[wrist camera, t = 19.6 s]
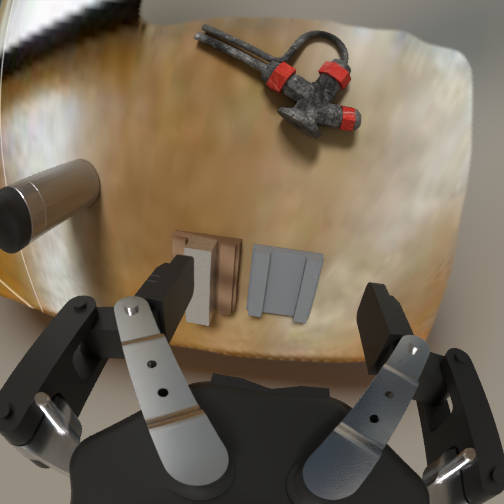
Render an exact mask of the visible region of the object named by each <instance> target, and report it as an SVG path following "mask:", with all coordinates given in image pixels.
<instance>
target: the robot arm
mask: <svg viewBox="0 0 504 504" xmlns="http://www.w3.org/2000/svg"><path fill="white" fill-rule="evenodd" d="M99 189H100V184H99V178H98V175H97V172H96V170H95V169H94V167H93V166H92V165H91V164H90V163H89V162H88V161H86V160H83V159H77V160H74V161H70V162H67V163H64V164H61V165H58V166H56V167H53V168H50V169H47V170H45V171H42V172H39V173H37V174H34V175H32V176H29V177H27V178H24V179H22V180H20V181H17V182H15V183H13V184H10V185H8V186H6V187H4V188H2V189H0V248H1V249H2V250H3V251H5V252H7V253H16V252H18V251H20V250H21V249H23V248H24V247H26V246H27V245H29V244H30V243H31V242H33V241H34V240H36V239H37V238H39V237H40V236H42V235H43V234H45V233H46V232H48V231H49V230H51V229H52V228H54V227H56V226H57V225H59V224H60V223H62V222H64V221H65V220H67V219H68V218H70V217H72V216H73V215H75V214H77V213H79V212H80V211H82V210H84V209H85V208H87V207H89V206H91V205H92V204H93V203H94V202H95V201H96V199H97V197H98V195H99ZM193 292H194V258H193V257H192V256H186V255H180V254H177V255H176V256H175V257H174V259H173V260H172V261H171V263H170V264H169V263H164V264H162V265H160V266H159V267H157V268H156V269H155V270H154V271H153V273H152V274H151V275H150V276H149V278H148V279H147V280H146V282H145V283H144V284H143V285H142V287H141V288H140V289H139V290H138V292H137V293H136V294H135V296H130V297H125V298H123V299H121V300H119V301H118V302H117V303H116V304H115V306H114V307H97V306H96V302H95V300H94V299H93V298H92V297H89V296H77V297H74V298H72V299H71V300H69V301H68V302H67V303H66V304H65V305H64V307H63V308H62V309H61V310H60V311H59V313H58V314H57V315H56V316H55V317H54V319H53V320H52V321H51V322H50V323H49V325H48V326H47V327H46V328H45V330H44V331H43V332H42V333H41V335H40V336H39V337H38V339H37V340H36V341H35V343H34V344H33V345H32V346H31V348H30V349H29V350H28V352H27V353H26V354H25V356H24V357H23V359H22V360H21V361H20V363H19V364H18V365H17V367H16V368H15V370H14V371H13V372H12V374H11V375H10V377H9V378H8V380H7V382H6V383H5V384H4V386H3V387H2V389H1V390H0V434H1V435H2V436H4V437H5V439H6V440H7V441H8V442H9V443H10V444H11V445H12V446H13V447H14V448H15V449H16V450H18V451H19V452H20V453H21V454H22V455H23V456H25V457H26V458H28V459H30V460H31V461H32V462H33V463H35V464H36V465H37V466H39V467H41V468H52V469H54V470H56V471H58V472H60V473H62V474H64V475H66V476H68V477H70V481H71V502H70V504H482V503H484V502H485V501H487V500H489V499H491V498H493V497H494V496H496V495H498V494H499V493H501V492H502V491H503V490H504V453H503V449H502V445H501V441H500V438H499V434H498V431H497V428H496V424H495V421H494V418H493V415H492V412H491V409H490V406H489V403H488V400H487V398H486V395H485V392H484V390H483V387H482V385H481V382H480V380H479V377H478V375H477V372H476V370H475V368H474V365H473V363H472V361H471V359H470V357H469V356H468V355H467V354H466V353H465V352H464V351H462V350H460V349H457V348H451V349H449V350H448V351H447V353H446V354H445V356H442V355H438V354H435V353H432V352H430V348H429V346H428V344H427V343H426V342H425V341H424V340H423V339H421V338H420V337H418V336H415V335H414V334H413V332H412V329H411V327H410V325H409V323H408V320H407V318H405V314H404V312H403V309H402V307H401V305H400V303H399V302H398V301H397V300H396V299H395V298H394V297H393V296H390V295H389V293H388V291H387V289H386V286H385V285H384V284H379V283H371V282H369V283H368V284H367V286H366V289H365V291H364V294H363V297H362V300H361V303H360V305H359V308H358V311H357V325H358V329H359V333H360V337H361V342H362V346H363V351H364V355H365V360H366V364H367V369H368V374H369V375H377V376H376V377H375V378H374V380H373V381H372V383H371V384H370V386H369V387H368V388H367V390H366V391H365V393H364V394H363V395H362V396H361V398H360V399H359V400H358V402H357V403H356V404H355V406H354V407H353V408H351V407H350V406H348V405H347V404H345V403H344V402H342V401H340V400H337V399H335V398H332V397H330V394H329V388H317V387H305V386H298V387H289V388H278V389H270V388H267V387H264V386H261V385H258V384H256V383H253V382H250V381H247V380H245V379H242V378H237V377H231V376H225V375H220V374H215V373H213V375H212V379H211V381H205V382H197V383H192V384H189V385H188V384H187V382H186V380H185V378H184V376H183V374H182V372H181V370H180V368H179V366H178V364H177V362H176V360H175V357H174V356H173V353H172V351H171V349H170V347H169V343H170V341H171V339H172V337H173V335H174V333H175V331H176V329H177V327H178V325H179V323H180V321H181V319H182V317H183V315H184V313H185V311H186V309H187V307H188V305H189V303H190V301H191V299H192V296H193ZM109 358H125V359H126V362H127V366H128V370H129V373H130V376H131V379H132V383H133V386H134V389H135V392H136V395H137V398H138V401H139V404H140V407H141V410H140V411H138V412H137V413H135V414H133V415H131V416H129V417H127V418H125V419H123V420H121V421H120V422H118V423H116V424H114V425H112V426H110V427H108V428H106V429H104V430H102V431H100V432H98V433H96V434H94V435H92V436H90V437H88V438H86V439H85V440H83V441H82V442H81V443H80V437H81V434H82V425H81V423H80V421H79V419H78V417H79V415H80V413H81V410H82V408H83V406H84V404H85V402H86V400H87V398H88V396H89V395H90V392H91V391H92V388H93V387H94V385H95V383H96V381H97V379H98V377H99V375H100V374H101V372H102V370H103V368H104V366H105V364H106V362H107V360H108V359H109ZM449 396H450V397H451V400H452V404H453V410H452V413H451V412H450V409H449V405H448V402H447V398H448V397H449ZM411 399H413V400H416V402H417V406H418V411H419V416H420V422H421V427H422V433H423V438H424V445H425V452H426V459H427V467H426V468H425V470H424V472H423V476H422V479H421V478H420V476H419V475H418V474H417V473H415V472H414V471H413V470H412V469H411V468H410V467H409V466H408V465H407V464H406V463H405V462H404V461H403V460H402V459H401V458H400V457H399V456H398V455H397V454H396V453H395V452H394V451H393V450H392V449H391V448H390V447H389V445H388V444H387V442H388V441H389V439H390V438H391V436H392V434H393V433H394V431H395V429H396V427H397V426H398V424H399V422H400V420H401V418H402V417H403V415H404V413H405V411H406V409H407V407H408V405H409V403H410V401H411Z"/></svg>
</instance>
